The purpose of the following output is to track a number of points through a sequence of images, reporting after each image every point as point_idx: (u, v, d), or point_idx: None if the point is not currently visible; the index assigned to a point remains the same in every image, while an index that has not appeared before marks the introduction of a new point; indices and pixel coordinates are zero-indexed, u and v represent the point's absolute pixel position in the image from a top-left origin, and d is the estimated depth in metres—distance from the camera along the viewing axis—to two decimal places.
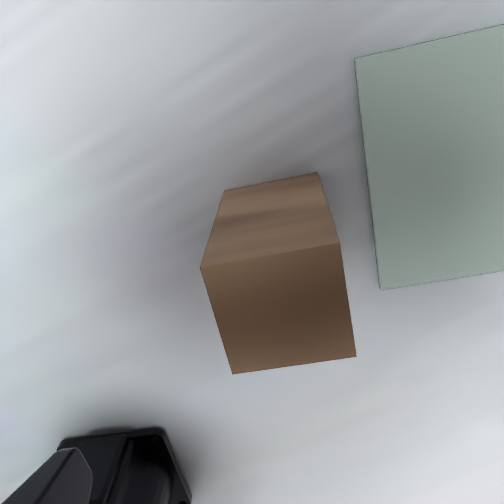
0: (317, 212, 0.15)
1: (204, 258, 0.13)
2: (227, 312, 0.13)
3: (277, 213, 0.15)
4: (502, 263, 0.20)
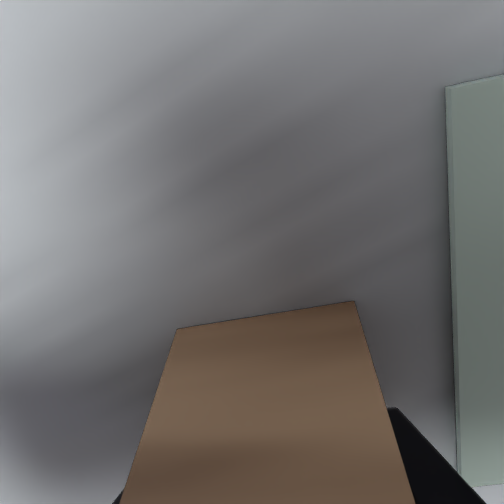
0: (379, 494, 0.06)
1: None
2: None
3: (276, 471, 0.06)
4: None
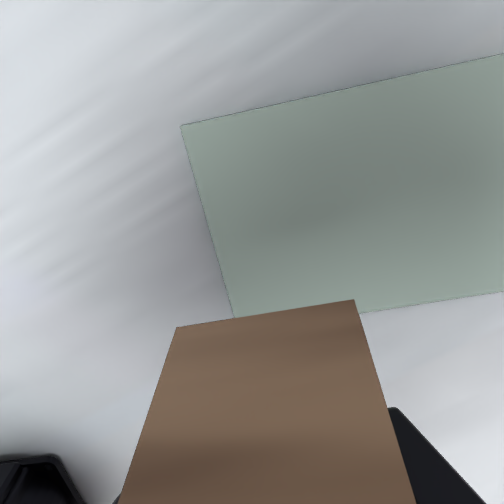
0: (380, 492, 0.06)
1: None
2: None
3: (276, 469, 0.06)
4: None
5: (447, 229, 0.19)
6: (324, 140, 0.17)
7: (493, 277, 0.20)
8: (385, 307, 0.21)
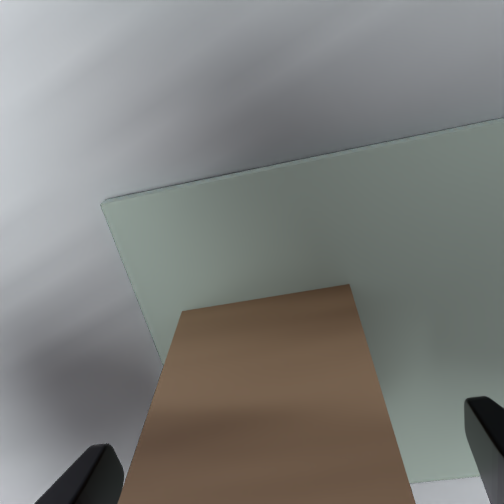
0: (369, 448, 0.06)
1: None
2: None
3: (276, 432, 0.07)
4: None
5: None
6: (363, 229, 0.09)
7: None
8: (450, 473, 0.13)
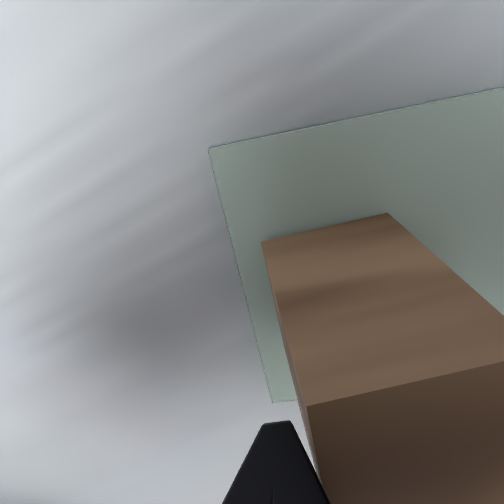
0: (445, 283, 0.10)
1: (302, 382, 0.08)
2: (342, 469, 0.08)
3: (377, 286, 0.10)
4: None
5: None
6: (399, 169, 0.13)
7: None
8: None
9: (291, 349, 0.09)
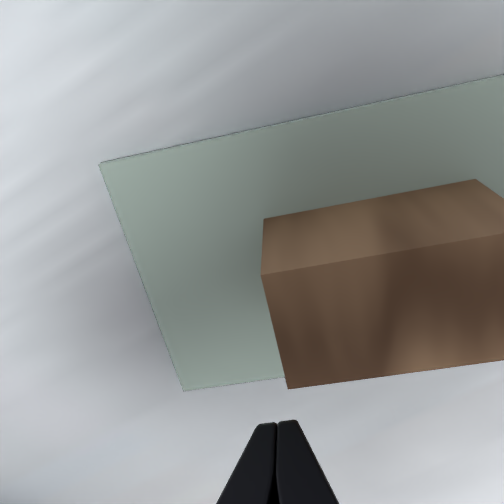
0: (397, 197, 0.14)
1: None
2: None
3: (392, 215, 0.13)
4: None
5: None
6: (268, 180, 0.15)
7: None
8: None
9: (475, 238, 0.11)
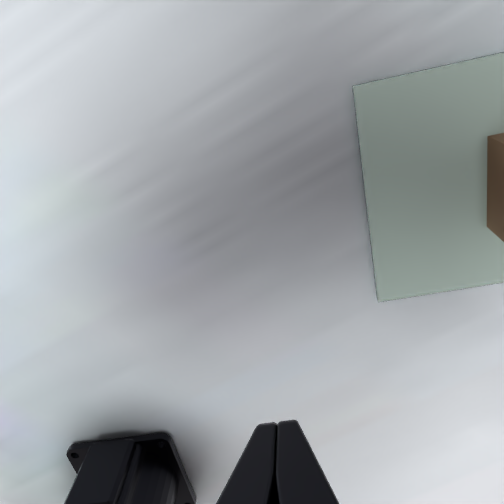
0: None
1: None
2: None
3: None
4: (494, 277, 0.20)
5: None
6: (499, 100, 0.17)
7: None
8: None
9: None
